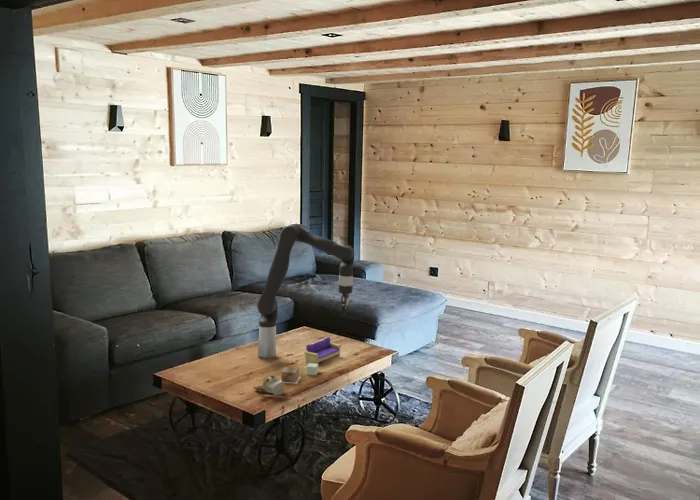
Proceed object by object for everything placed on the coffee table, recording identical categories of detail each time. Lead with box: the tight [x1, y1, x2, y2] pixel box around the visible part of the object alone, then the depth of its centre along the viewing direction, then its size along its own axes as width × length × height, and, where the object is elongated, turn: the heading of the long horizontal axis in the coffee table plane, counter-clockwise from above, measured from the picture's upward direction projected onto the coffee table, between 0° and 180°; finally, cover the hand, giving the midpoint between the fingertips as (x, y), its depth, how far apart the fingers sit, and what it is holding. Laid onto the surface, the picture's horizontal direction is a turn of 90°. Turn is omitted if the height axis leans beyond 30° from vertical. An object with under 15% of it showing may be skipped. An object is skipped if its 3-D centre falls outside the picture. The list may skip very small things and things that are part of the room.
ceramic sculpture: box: [253, 375, 285, 397], centre depth 284 cm, size 11×9×15 cm
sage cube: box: [306, 363, 319, 376], centre depth 309 cm, size 5×5×5 cm
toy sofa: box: [304, 336, 342, 365], centre depth 331 cm, size 21×9×10 cm, turn 143°
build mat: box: [278, 376, 301, 385], centre depth 300 cm, size 12×12×1 cm
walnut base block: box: [280, 366, 300, 384], centre depth 299 cm, size 7×7×5 cm
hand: (344, 313), depth 323 cm, fingers open, 8 cm apart
